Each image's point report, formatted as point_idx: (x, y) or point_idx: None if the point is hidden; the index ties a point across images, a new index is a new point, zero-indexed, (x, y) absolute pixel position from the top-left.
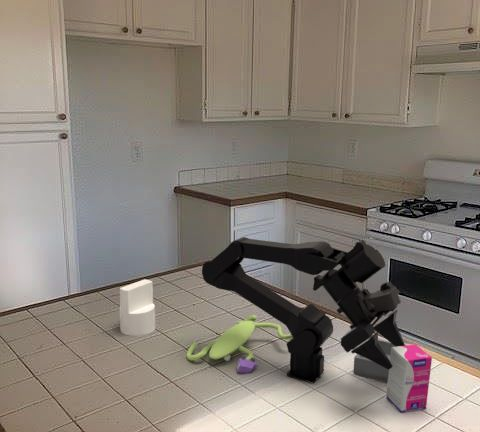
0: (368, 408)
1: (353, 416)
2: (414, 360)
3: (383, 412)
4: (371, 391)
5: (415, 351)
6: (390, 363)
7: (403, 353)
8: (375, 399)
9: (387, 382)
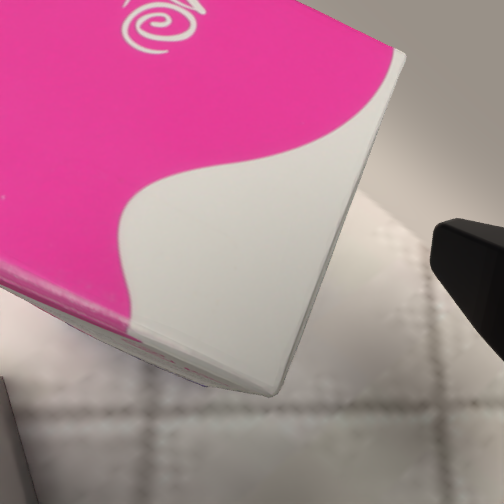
0: (363, 384)
1: (473, 387)
2: (309, 12)
3: (330, 311)
4: (212, 494)
5: (107, 79)
6: (479, 228)
7: (300, 159)
8: (265, 417)
9: (36, 502)
